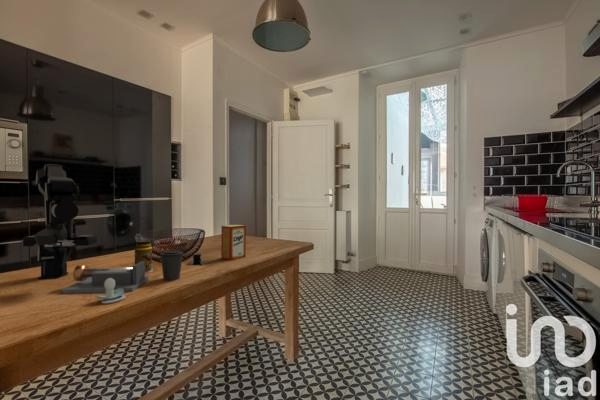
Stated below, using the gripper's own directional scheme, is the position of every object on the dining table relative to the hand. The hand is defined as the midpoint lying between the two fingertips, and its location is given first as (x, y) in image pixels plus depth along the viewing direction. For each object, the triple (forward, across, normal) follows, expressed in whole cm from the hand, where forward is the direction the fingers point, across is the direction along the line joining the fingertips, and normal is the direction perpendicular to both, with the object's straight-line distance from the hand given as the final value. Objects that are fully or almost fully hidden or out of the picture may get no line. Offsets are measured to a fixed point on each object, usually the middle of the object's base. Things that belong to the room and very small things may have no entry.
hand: (61, 267), depth 94 cm
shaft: (+5, +14, 0) cm, 14 cm away
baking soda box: (+7, +51, +41) cm, 66 cm away
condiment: (+7, +17, +19) cm, 26 cm away
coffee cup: (+7, +32, +7) cm, 33 cm away
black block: (+7, +36, +32) cm, 49 cm away
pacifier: (+7, +22, -14) cm, 26 cm away
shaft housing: (+7, +14, 0) cm, 16 cm away
